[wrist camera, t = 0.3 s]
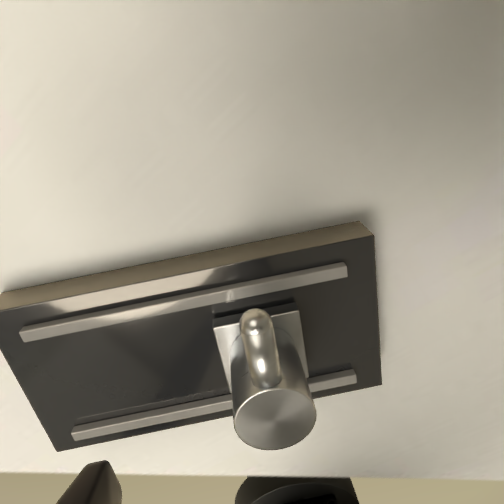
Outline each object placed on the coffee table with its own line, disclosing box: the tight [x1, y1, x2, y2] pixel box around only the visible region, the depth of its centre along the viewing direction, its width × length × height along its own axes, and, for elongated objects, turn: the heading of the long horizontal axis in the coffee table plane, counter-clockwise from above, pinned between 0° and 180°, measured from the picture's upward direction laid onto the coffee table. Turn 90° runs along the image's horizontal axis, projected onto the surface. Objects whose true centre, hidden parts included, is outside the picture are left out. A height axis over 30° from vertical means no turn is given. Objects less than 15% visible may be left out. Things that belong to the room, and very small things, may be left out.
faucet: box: [213, 302, 316, 450], centre depth 17 cm, size 7×4×5 cm, turn 10°
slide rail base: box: [0, 221, 382, 452], centre depth 20 cm, size 9×18×2 cm, turn 100°
